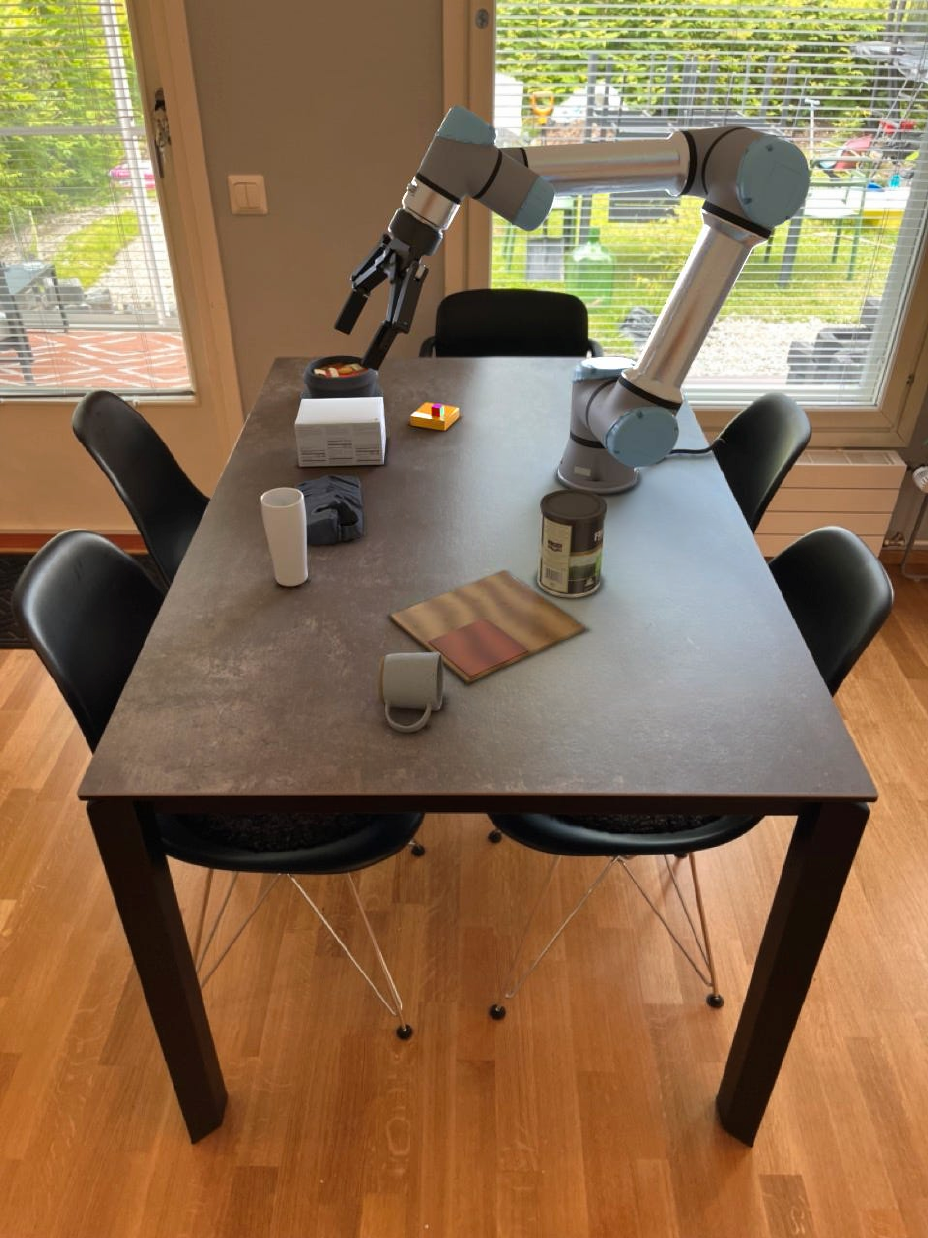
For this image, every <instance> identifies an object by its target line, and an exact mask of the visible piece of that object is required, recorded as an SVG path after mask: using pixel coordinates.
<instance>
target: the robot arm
mask: <svg viewBox="0 0 928 1238" xmlns="http://www.w3.org/2000/svg"><path fill="white" fill-rule="evenodd" d="M497 137H498V130H497V128H496V127H495V126H493V125H491V124H490V123H488V122H487V121H486V120H484V119H483V118H481V117H480V116H479V115H477V114H475V113H474V112H473V111H470V110H469V109H468V108H466V107H464V106H462V105H458V104H457V105H454V106H452V107H450V108H449V110H448V112H447V113H446V115H445V117H444V118H443V120H442V122H441V123H440V125H439V127H438V128H437V130H436V131H435V133H434V137H433V139H432V140H431V143H430V145H429V147H428V149H427V151H426V153H425V155H424V157H423V159H422V161H421V164H420V165H419V168H418V169H417V172H416V173H415V175H414V177H413V179H412V181H411V183H408V184H407V186H406V190H407V191H406V193H405V194H404V196H403V199H402V201H401V203H402V206H403V207H399V208H397V209H396V211H395V213H394V215H393V217H392V218H391V221H390V223H389V225H388V227H387V231H388V232H389V233H388V232H383V233H382V234H381V237H380V238H379V240H378V241H377V243H376V244H375V246H374V247H373V248H372V249H371V250H370V252H369V253H368V254H367V255H366V257H365V258H364V259H363V260H362V262H361V263H360V264H359V265H358V266H357V268H355V270H353V272H352V273H351V275H350V278H349V280H350V282H352V283H351V288H352V289H351V291H350V294H349V295H348V297H347V299H346V301H345V303H344V304H343V307H342V309H341V311H340V313H339V315H338V316H337V319H336V321H335V322H334V325H333V329H334V330H336V331H338V332H341V333H342V334H345V335H347V336H350V335H351V333H352V331H353V329H354V327H355V325H356V323H357V321H358V319H359V318H360V316H361V313H362V312H363V310H364V308H365V306H366V304H367V302H368V300H369V298H370V297H371V295H372V291H373V290H374V289H375V288H377V287H378V286H379V285H381V284H382V283H383V282H384V281H386V279H388V281H389V284H390V291H389V298H388V303H387V310H386V317H385V320H381V322H380V325H379V327H378V329H377V330H376V333H375V335H374V337H373V339H372V340H371V342H370V344H369V346H368V348H367V350H366V351H365V354H364V355H363V357H362V358H363V359H362V361H361V364H362V365H364V366H366V367H369V368H371V369H373V370H376V371H379V369H380V368H381V366H382V364H383V362H384V360H385V358H386V356H387V354H388V353H389V350H390V349H391V347H392V346H393V343H394V341H395V340H396V337H397V336H398V334H405V335H408V334H409V333H410V331H411V327H412V324H413V320H414V317H415V314H416V310H417V306H418V303H419V299H420V296H421V292H422V289H423V285H424V282H425V280H426V279H427V276H428V274H429V272H430V268H429V267H428V266H426V265H424V264H422V263H421V261H422V258H423V257H424V256H426V257H432V256H434V254H435V253H436V251H437V249H438V247H439V245H440V243H441V242H442V240H443V238H444V236H443V234H444V233H443V232H442V231H447V230H448V229H449V227H450V225H451V223H452V222H453V219H454V218H455V216H456V214H457V212H458V210H459V208H460V207H461V205H462V202H463V200H464V198H465V197H466V196H468V197H469V198H471V199H472V200H474V201H476V202H478V203H479V204H481V205H482V206H484V207H485V208H487V209H488V210H490V211H491V212H493V213H494V214H496V215H498V216H499V217H501V218H502V219H504V220H506V221H508V222H509V223H511V225H512V226H516V227H517V228H520V229H522V230H523V231H525V232H533V231H536V230H537V229H539V227H541V226H542V224H543V223H544V222H545V221H546V220H547V218H548V217H549V214H550V213H551V211H552V208H553V206H554V203H555V199H556V198H559V197H572V196H573V197H576V196H590V195H605V194H621V193H622V194H623V193H637V192H638V193H640V192H652V191H653V192H654V191H666V192H667V193H668V194H669V195H670V196H671V197H680V196H681V197H682V196H688V197H695V198H700V199H704V201H703V204H702V206H701V208H700V211H699V213H700V216H701V219H702V222H703V223H702V228H701V230H700V232H699V234H698V236H697V238H696V240H695V242H694V243H693V246H692V248H691V249H690V253H689V254H688V256H687V258H686V260H685V262H684V264H683V266H682V268H681V271H680V272H679V275H678V276H677V279H676V281H675V283H674V284H673V287H672V289H671V291H670V293H669V295H668V297H667V299H666V300H665V303H664V305H663V307H662V309H661V312H660V313H659V316H658V318H657V319H656V321H655V324H654V326H653V328H652V330H651V332H650V333H649V335H648V338H647V340H646V342H645V344H644V346H643V348H642V350H641V352H640V355H639V356H638V357H637V360H636V361H634V360H633V359H628V358H625V357H616V356H615V357H614V356H602V357H592V358H587V359H584V360H582V361H579V362H578V363H576V365H575V367H574V368H573V369H574V370H573V376H572V380H571V383H572V384H571V385H572V386H571V403H570V404H571V405H570V422H569V423H570V424H569V437H568V441H567V442H566V446H565V448H564V450H563V451H564V452H563V455H562V457H561V459H560V460H559V463H558V468H557V478H558V480H559V482H560V483H561V484H563V485H564V486H565V487H567V488H568V489H578V490H585V491H589V492H592V493H595V494H597V495H599V496H600V495H601V496H602V495H603V496H604V495H615V494H619V493H623V492H625V491H628V490H630V489H632V488H633V487H634V486H635V485H636V484H637V482H638V474H639V473H638V468H645V467H649V466H651V465H653V464H656V463H659V462H661V461H662V460H663V459H665V458H666V457H667V456H669V455H674V454H688V455H702V454H703V455H704V454H707V453H709V452H710V451H712V450H713V449H714V448H716V446H717V445H718V444H720V445H726V442H725V441H724V439H722V438H720V437H718V438H716V439H714V440H713V441H712V442H711V444H710V445H708V446H707V447H705V448H699V449H693V448H674V447H675V446H676V444H677V442H678V439H679V435H680V429H679V424H678V420H677V418H676V417H677V415H678V413H679V411H680V410H681V407H682V406H683V403H684V402H685V398H684V394H683V391H682V386H683V384H684V382H685V380H686V379H687V376H688V375H689V372H690V370H691V369H692V367H693V365H694V363H695V361H696V359H697V357H698V355H699V354H700V351H701V350H702V348H703V345H704V344H705V341H706V340H707V338H708V335H709V334H710V332H711V330H712V328H713V326H714V324H715V322H716V320H717V318H718V317H719V315H720V313H721V310H722V309H723V307H724V305H725V304H726V301H727V299H728V297H729V295H730V293H731V292H732V290H733V287H734V286H735V284H736V282H737V279H738V278H739V276H740V274H741V272H742V270H743V268H744V267H745V265H746V262H747V261H748V259H749V257H750V255H751V252H752V251H753V249H755V248H756V247H758V246H760V245H762V244H765V243H767V242H768V241H769V239H770V237H771V236H772V233H773V231H774V229H775V228H776V227H777V226H780V225H783V224H784V223H785V222H786V221H790V220H791V219H793V217H795V216H796V215H797V213H798V212H799V211H800V209H801V208H802V206H803V205H804V203H805V201H806V199H807V196H808V194H809V189H810V182H811V172H810V171H811V170H810V169H809V162H808V159H807V157H806V155H805V154H804V153H805V152H803V150H801V148H800V147H799V146H797V145H796V144H795V143H794V142H791V141H790V140H787V139H786V138H785V137H782V136H779V135H777V134H772V133H767V132H763V131H760V130H756V129H753V128H751V127H749V126H743V125H724V126H716V127H707V128H706V127H705V128H698V129H689V130H687V129H686V130H675V131H673V132H671V133H670V134H669V136H668V137H667V138H654V139H636V140H620V141H619V140H618V141H601V142H599V141H598V142H584V143H582V142H581V143H567V144H564V143H563V144H548V145H547V144H546V145H529V146H520V147H518V146H517V147H516V146H515V147H514V146H513V147H511V146H510V147H497V146H496V145H495V144H496V139H497Z"/></svg>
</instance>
